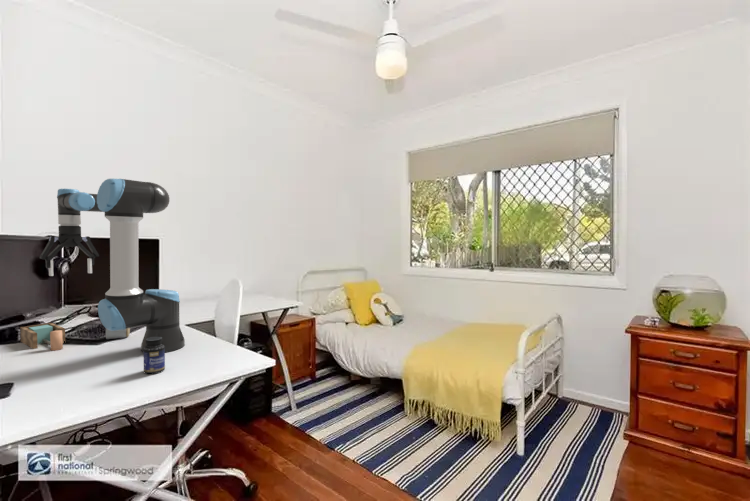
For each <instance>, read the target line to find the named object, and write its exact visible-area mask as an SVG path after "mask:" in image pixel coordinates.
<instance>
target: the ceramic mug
mask: <svg viewBox="0 0 750 501" xmlns="http://www.w3.org/2000/svg"><path fill="white" fill-rule="evenodd" d="M130 332H131V328H128V329H125V330H116V331H110V330H108V329H106V328H105V339H106V340H114V339H115V340H116V339H123V338H128V337H129V336H130Z"/></svg>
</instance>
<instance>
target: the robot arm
mask: <svg viewBox="0 0 750 501" xmlns="http://www.w3.org/2000/svg"><path fill="white" fill-rule="evenodd" d="M97 190H98V191H97V193H88V192H84V191H83V192H81V191H80V190H78V189H76V188H75V189H74V188H58V189H57V196H56V198H57V218H58V220H57V221H58V222H57V223H58V225H59V226H58V236H49V237H48V242H47V243H46V245H45V247H44V249H43V251H42V252H41V253H40V255H39V259H40V260H44V261H45V268H46V269H48V276H49V277H54V260H52V259H53V258H54V257H55V256H56V255H57V254H58V253H59V252H60V251H61V250H62V249H63V248H64V247H65V248H70V247H71V248H72V247H73V248H78V249H79V250H80V251H82V252H83V253H84V254H85V255H86V256H87V257H89V258H87V274H93V266H95V258H97V257H98V258H99V257H100V254H99V252H98V250H96V247H95V245H94V244H93V242H92V241H91V237H90V235H89V236H86V235H85V236H82V227H81V225H82V221H81V220H82V219H81V218H82V217H81V212H92V213H93V212H96V213H98V212H99V213H102V212H103V213H104V218H105V219H107V220H108V221H109V265H110V266H109V270H110V271H109V272H110V273H109V275H110V276H109V278H110V279H109V280H110V283H109V284H110V288H109V289H108V290H107V291H106V292H105V293H104V294H105V295H104V297H105V298H104V299H103V298H102V299H101V300H100V301H98V305H97V313H98V314H97V315H98V317H99V319H100V320H99V321H100V323H101V324H102V326H103V327H104V328H105V330H106V329H108V330H110V331H116V330H125V329H128V328H130V329H132V328H138V327H141V326H142V327H143V326H145V332H144V335H143V338H142V342H141V344H140V348H141V352H143V350H144V347H145V346H147V344H146V339H147V338H151V337H162V342H161V344H163V345H164V346H165V353H167V352H168V353H169V352H173V351H177V350H179V349H182V348H184V347H185V345H186V344H185V343H186V342H185V340H186V339H185V337H184V335H183V334H184V333H183V332H182V329H181V326H180V323H181V322H180V303H181V302H180V294H179V292H178V291H176V290H172V289H158V288H155V289H154V288H151V289H150V288H149V289H146V290H145V291H144V290H143V289H142V288H140V287H139V286H140V285H139V282H140V281H139V271H140V270H139V266H140V265H139V256H140V255H139V222H140V221H142V220H143V219H144V214H157V213H160V212H163V211H164V210H166V209H167V207H169V204H170V195H169V193H168V191H167V189H166V188H165V187H162V186H161V185H160V184H158V183H154V182H152V181H151V182H150V181H141V180H140V181H139V180H132V179H126V178H125V179H124V178H107V179H105V180H104V181H103V182H102V183H101V184H100V185H99V187H98V189H97ZM57 241H58V242H59V243H58V245H57V246H56V247H55V248H54V249H53V250H52V251H50V250H51V249H52V247H53V246H54V243H56V242H57ZM82 241H83V242H85V244H86V246H87V248H89V250H90V251H89V250H88V249H87V248H86V247H85V246H84V245H83V244H82Z"/></svg>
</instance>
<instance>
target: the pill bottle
mask: <svg viewBox="0 0 750 501" xmlns="http://www.w3.org/2000/svg"><path fill="white" fill-rule="evenodd" d="M161 342H162V337H151V338H147V339H146V344H147V346H145V347H144V350H143V351H142V352H143V373H144V372H145V373H144V374H146V373H156V374H158V373H157V372H160V373H162V372H163V371H165V369H166V365H165V364H166V363H165V362H166V361H165V360H166V358H165V357H166V355H165V354H166V352H165V346H164V345H163V344H161ZM161 371H162V372H161Z"/></svg>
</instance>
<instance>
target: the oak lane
mask: <svg viewBox="0 0 750 501" xmlns="http://www.w3.org/2000/svg"><path fill="white" fill-rule="evenodd" d="M42 325H50V326H52V327H53V331H56V330H62V338H63V344H65V343H64V341H65V342H66V327H63V326H60V325H58V324H55V323H52V322H46V323H40V324H39V323H38V324H32V325H27V326H20V327H19V331H20V332H19V335H20V336H19V337H20V343H23V344H24V345H26V346H27V347H30V348H31V349H33V350H35V349H38V344H37V333H36V332H34V331H32V330H30V329H29V327H36V326H42Z"/></svg>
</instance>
